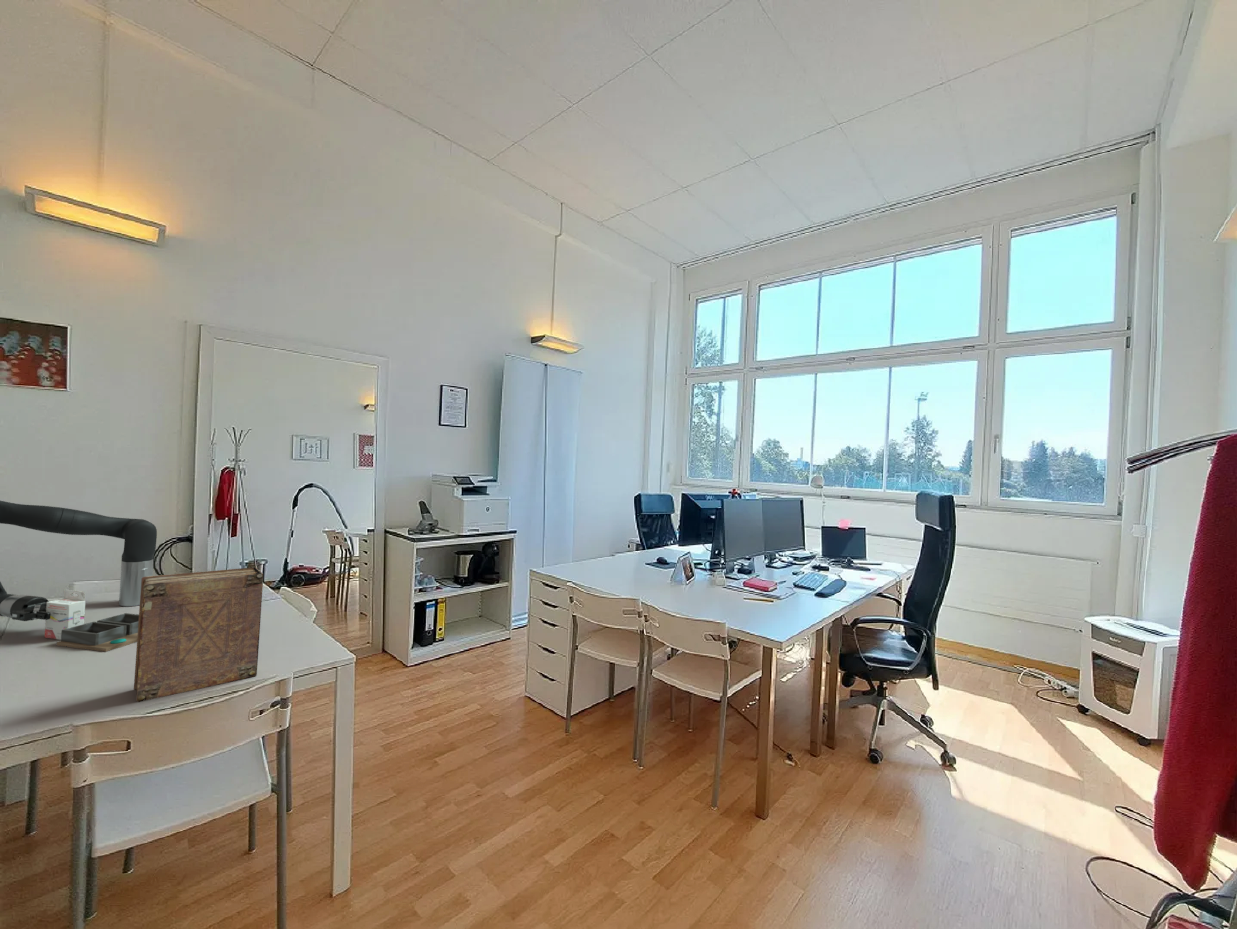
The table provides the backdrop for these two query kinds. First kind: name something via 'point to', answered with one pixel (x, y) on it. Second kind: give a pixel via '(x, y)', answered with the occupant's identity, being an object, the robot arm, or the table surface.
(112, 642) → the socket board
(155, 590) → the book
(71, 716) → the table surface
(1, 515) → the robot arm
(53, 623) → the ink cartridge box
